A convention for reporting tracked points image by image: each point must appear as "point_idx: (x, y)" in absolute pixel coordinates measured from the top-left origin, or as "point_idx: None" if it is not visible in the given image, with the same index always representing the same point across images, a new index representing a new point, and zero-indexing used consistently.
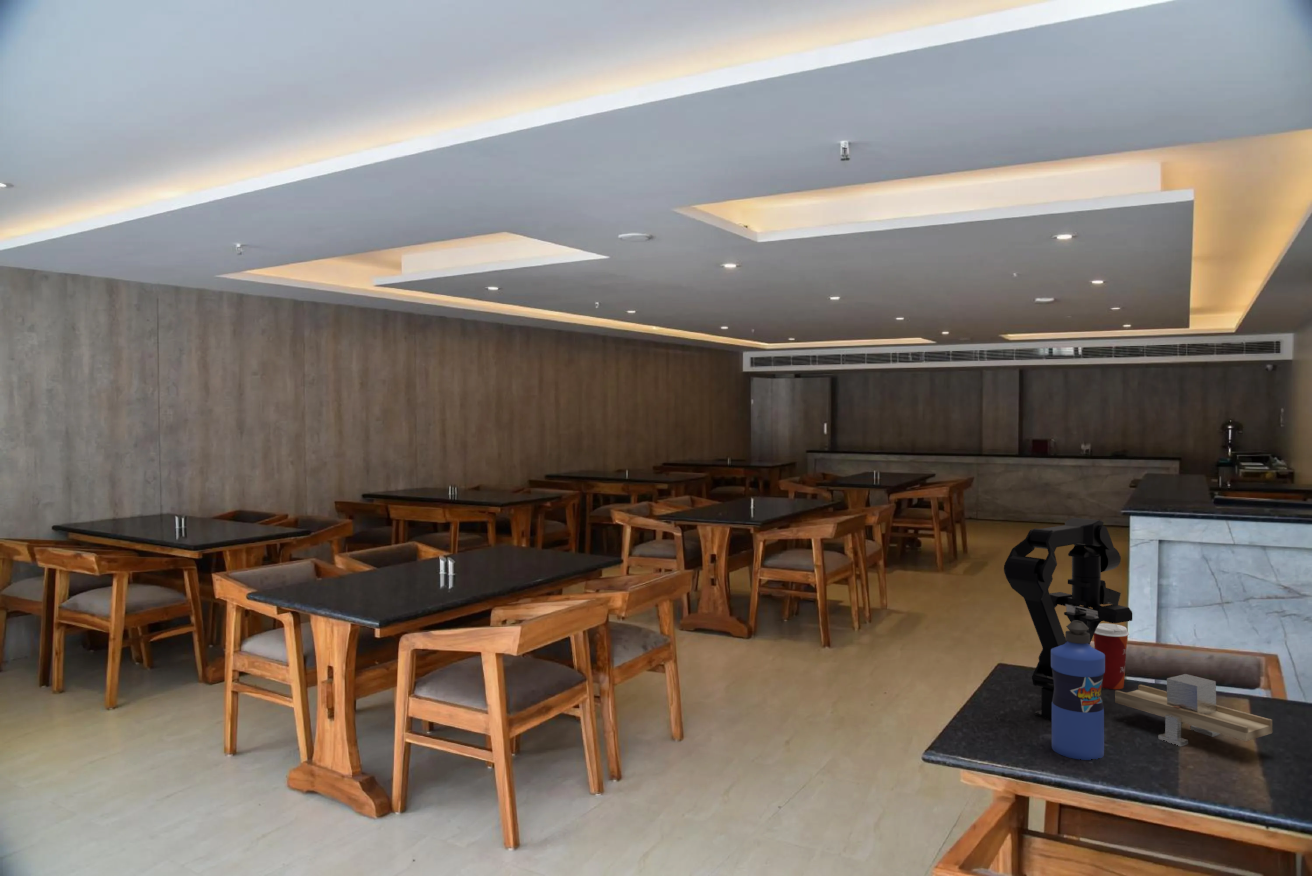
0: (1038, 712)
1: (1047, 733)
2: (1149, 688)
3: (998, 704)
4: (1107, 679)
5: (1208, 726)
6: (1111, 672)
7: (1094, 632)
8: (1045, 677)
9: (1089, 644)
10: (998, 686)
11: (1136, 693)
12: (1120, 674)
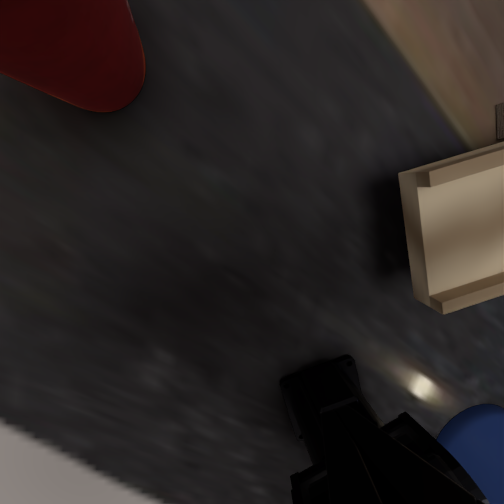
0: (300, 433)
1: None
2: (473, 173)
3: (210, 481)
4: (124, 93)
5: None
6: (126, 69)
7: (469, 494)
8: (305, 492)
9: (354, 411)
10: (60, 432)
11: (444, 225)
12: (133, 24)
